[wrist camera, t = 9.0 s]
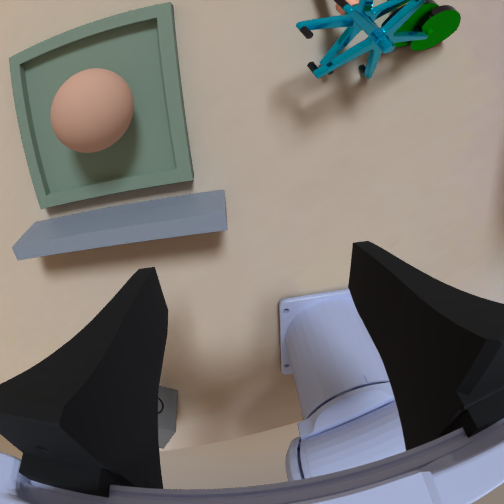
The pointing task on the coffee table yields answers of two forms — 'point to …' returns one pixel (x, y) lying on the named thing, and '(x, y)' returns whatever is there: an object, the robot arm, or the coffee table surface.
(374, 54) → the stick construction toy
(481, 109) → the coffee table surface
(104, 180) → the green tray
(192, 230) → the low wall
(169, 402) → the dice cube
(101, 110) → the rubber ball
